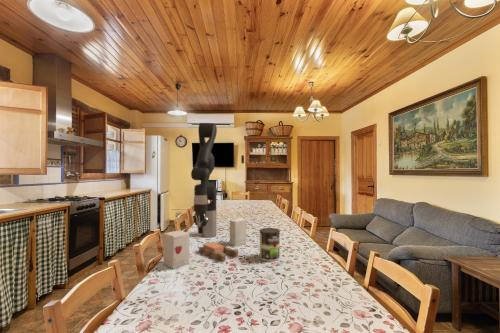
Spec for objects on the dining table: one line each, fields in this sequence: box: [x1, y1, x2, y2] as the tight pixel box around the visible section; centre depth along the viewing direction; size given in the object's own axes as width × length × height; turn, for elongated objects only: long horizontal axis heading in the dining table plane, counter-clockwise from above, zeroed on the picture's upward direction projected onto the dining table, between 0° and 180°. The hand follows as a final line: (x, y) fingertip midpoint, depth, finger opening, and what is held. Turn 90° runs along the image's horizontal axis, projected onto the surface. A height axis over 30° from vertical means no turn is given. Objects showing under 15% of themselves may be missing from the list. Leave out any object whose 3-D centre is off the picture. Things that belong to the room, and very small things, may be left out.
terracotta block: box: [202, 241, 225, 254], centre depth 139 cm, size 10×6×4 cm, turn 46°
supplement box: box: [162, 230, 190, 270], centre depth 123 cm, size 9×9×15 cm
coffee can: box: [259, 227, 281, 262], centre depth 133 cm, size 10×10×14 cm
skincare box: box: [229, 217, 247, 247], centre depth 155 cm, size 8×6×15 cm
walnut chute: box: [198, 246, 239, 262], centre depth 137 cm, size 20×11×4 cm, turn 46°
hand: (200, 233), depth 147 cm, fingers closed
